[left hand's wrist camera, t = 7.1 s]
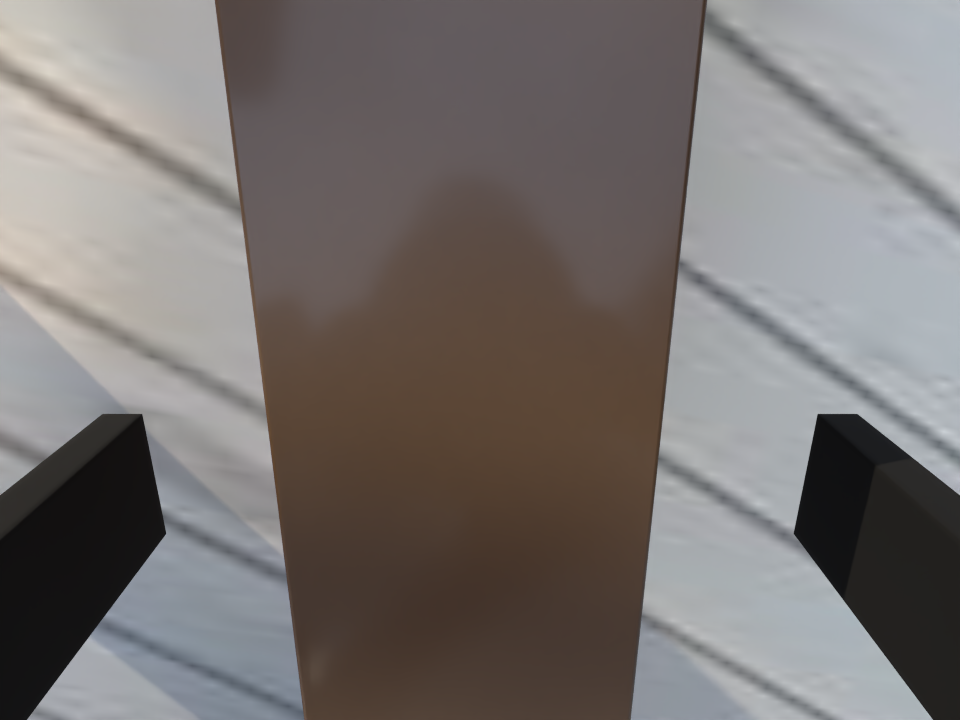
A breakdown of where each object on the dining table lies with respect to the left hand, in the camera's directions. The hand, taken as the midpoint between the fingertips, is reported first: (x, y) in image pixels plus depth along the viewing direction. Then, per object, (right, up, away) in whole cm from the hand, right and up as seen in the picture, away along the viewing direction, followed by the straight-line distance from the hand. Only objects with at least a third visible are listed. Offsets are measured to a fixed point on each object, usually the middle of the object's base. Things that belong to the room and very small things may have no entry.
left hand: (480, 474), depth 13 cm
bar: (0, +13, +2) cm, 14 cm away
